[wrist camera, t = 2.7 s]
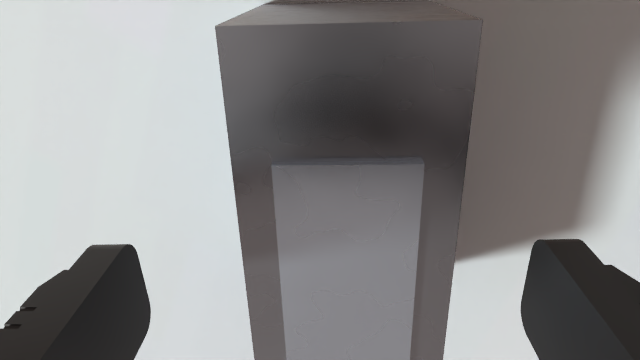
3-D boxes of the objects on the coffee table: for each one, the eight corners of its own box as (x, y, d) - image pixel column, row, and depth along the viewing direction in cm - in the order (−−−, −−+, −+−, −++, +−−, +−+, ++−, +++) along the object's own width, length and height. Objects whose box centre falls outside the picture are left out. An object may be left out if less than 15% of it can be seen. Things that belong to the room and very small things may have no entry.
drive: (427, -1, 14) (486, 20, 8) (409, 270, 18) (439, 406, 12) (264, 4, 14) (212, 27, 8) (283, 269, 18) (257, 403, 13)
